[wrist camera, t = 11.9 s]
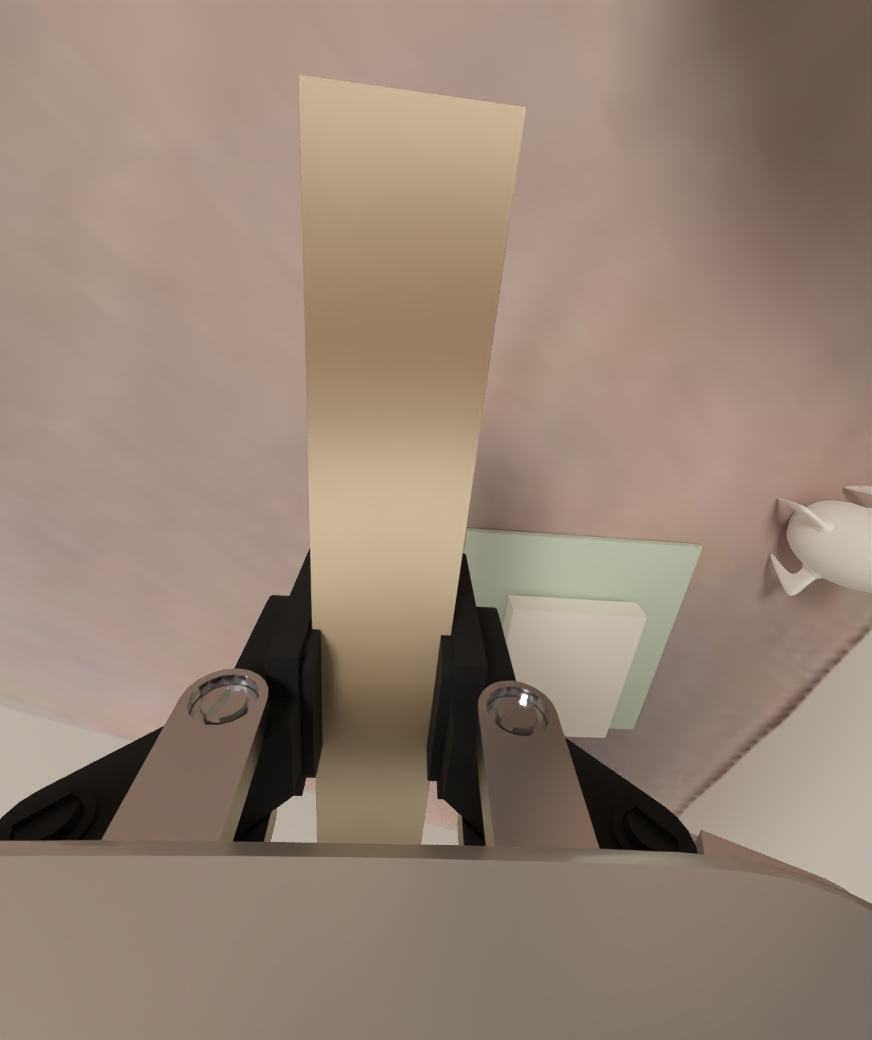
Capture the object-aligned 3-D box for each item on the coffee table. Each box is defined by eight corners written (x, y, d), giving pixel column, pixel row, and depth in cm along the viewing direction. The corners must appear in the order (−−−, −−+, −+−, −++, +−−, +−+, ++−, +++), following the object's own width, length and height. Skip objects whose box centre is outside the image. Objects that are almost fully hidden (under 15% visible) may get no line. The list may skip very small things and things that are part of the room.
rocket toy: (859, 468, 27) (1023, 531, 20) (841, 551, 29) (982, 635, 22) (762, 486, 27) (889, 555, 20) (752, 567, 29) (862, 655, 22)
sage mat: (466, 528, 27) (467, 531, 27) (699, 543, 28) (702, 547, 28) (440, 717, 34) (441, 722, 33) (631, 725, 35) (633, 729, 34)
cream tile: (513, 609, 27) (488, 733, 31) (647, 617, 28) (605, 737, 32) (508, 593, 29) (485, 713, 33) (635, 600, 29) (596, 717, 34)
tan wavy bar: (346, 161, 8) (298, 74, 5) (479, 178, 9) (526, 107, 5) (339, 796, 16) (319, 938, 13) (408, 797, 17) (407, 937, 13)
